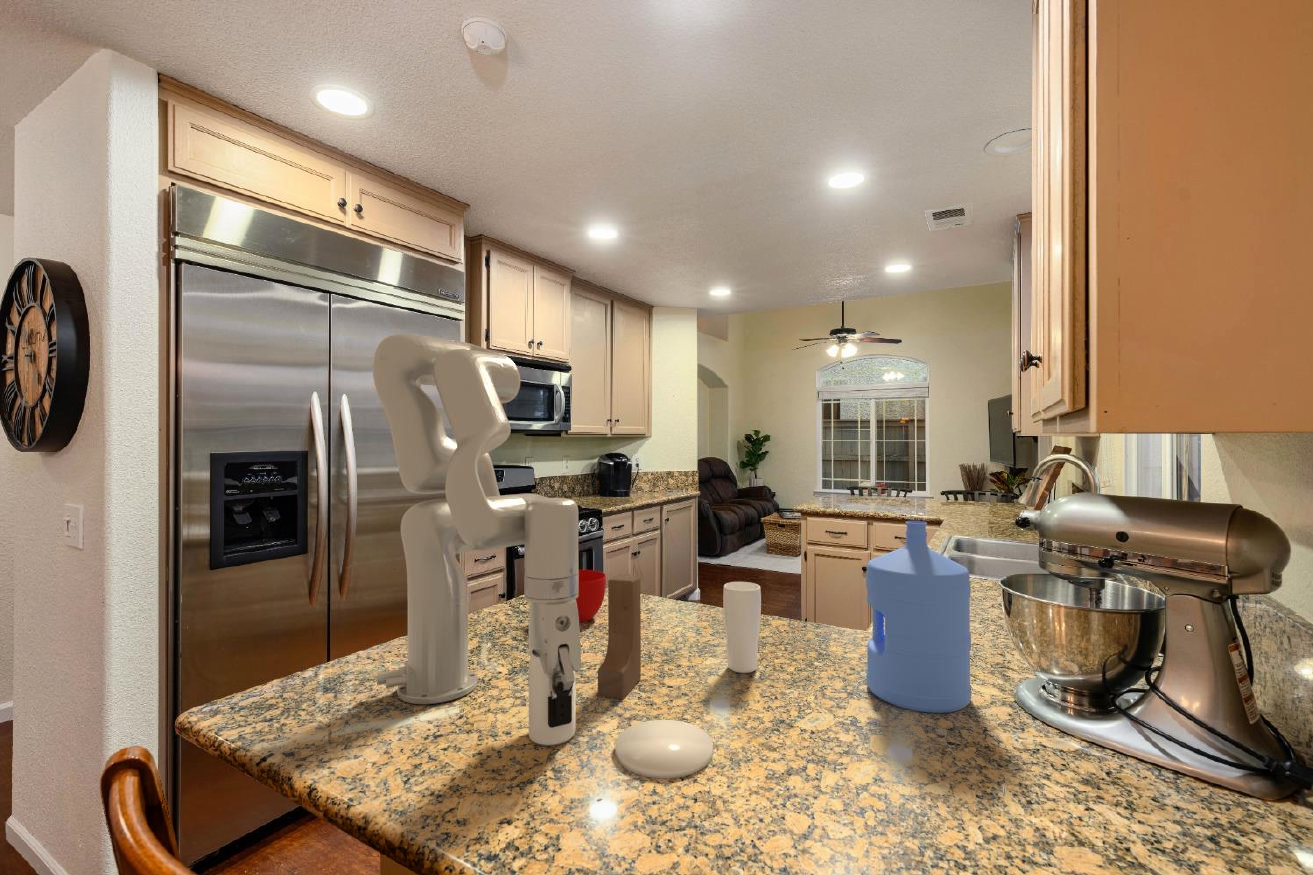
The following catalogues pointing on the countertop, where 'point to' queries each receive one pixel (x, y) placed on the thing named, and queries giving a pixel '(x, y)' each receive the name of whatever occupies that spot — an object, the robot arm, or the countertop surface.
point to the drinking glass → (742, 624)
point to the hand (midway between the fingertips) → (551, 712)
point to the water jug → (919, 627)
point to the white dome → (664, 749)
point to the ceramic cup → (590, 593)
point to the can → (545, 707)
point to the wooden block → (622, 638)
